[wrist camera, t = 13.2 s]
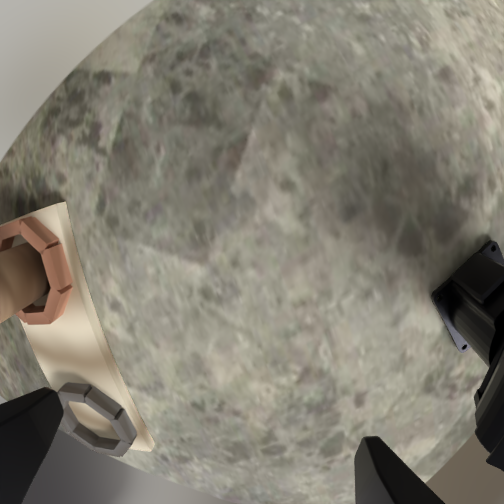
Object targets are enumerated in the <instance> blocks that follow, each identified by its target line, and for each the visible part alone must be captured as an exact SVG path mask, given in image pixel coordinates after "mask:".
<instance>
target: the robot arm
mask: <svg viewBox="0 0 504 504" xmlns="http://www.w3.org/2000/svg"><path fill="white" fill-rule="evenodd" d="M492 246H493V249H492V250H491V247H492ZM438 295H440V298H439V299H437V297H438ZM431 299H432V301H433V303H434V305H435V307H436V308H437V310H438V312H439V314H440V316H441V318H442V320H443V321H444V323H445V325H446V327H447V329H448V331H449V333H450V335H451V337H452V339H453V341H454V343H455V345H456V347H457V349H458V350H459V351H460V352H461V353H463V352H465V351H467V350H468V349H469V348H470V347H472V348H473V350H474V351H475V352H476V353H477V354H478V355H479V356H480V357H481V359H482V360H483V361H484V362H485V363H486V364H487V366H488V367H489V370H488V372H487V374H486V376H485V378H484V380H483V382H482V384H481V386H480V388H479V389H478V390H477V391H476V393H475V395H474V400H475V405H476V412H475V418H476V425H477V428H476V429H475V434H476V436H477V438H478V439H479V441H480V443H481V445H483V447H484V448H485V449H486V450H487V452H489V453H490V455H489V456H488V458H487V459H486V462H487V463H488V464H490V465H492V466H495V467H497V468H499V469H501V470H502V471H504V259H503V256H502V253H501V251H500V248H499V246H498V244H497V242H495V241H492V240H490V241H489V242H488V243H487V244H485V245H484V246H483V247H482V248H481V249H480V250H479V251H478V252H477V253H475V254H474V255H473V256H472V257H471V258H470V259H469V260H468V261H467V262H466V263H464V264H463V265H462V266H461V267H460V268H459V269H458V270H457V271H456V272H455V273H453V275H452V276H451V277H450V278H449V279H448V280H447V281H446V282H444V283H443V284H442V285H441V286H440V287H439V288H437V289H436V290H435V291H434V292H433V294H432V297H431ZM463 345H464V346H463ZM462 346H463V347H462ZM63 415H64V409H63V406H62V403H61V401H60V398H59V396H58V393H57V392H56V391H55V390H53V389H51V388H48V387H44V388H41V389H38V390H36V391H33V392H31V393H28V394H26V395H23V396H21V397H18V398H16V399H13V400H10V401H8V402H5V403H3V404H0V504H22V502H23V500H24V498H25V496H26V494H27V492H28V490H29V488H30V486H31V484H32V482H33V480H34V478H35V476H36V474H37V472H38V470H39V468H40V466H41V464H42V463H43V461H44V459H45V457H46V455H47V453H48V451H49V449H50V446H51V444H52V441H53V439H54V437H55V434H56V432H57V429H58V427H59V425H60V422H61V420H62V418H63ZM354 464H355V500H356V504H445V503H444V502H443V501H442V500H441V499H440V498H439V497H438V496H437V495H436V494H435V493H434V492H433V491H432V490H431V489H430V488H429V487H428V486H427V485H426V484H425V483H424V482H423V481H422V480H421V479H420V478H419V477H418V476H417V475H416V474H415V473H414V472H413V471H412V470H411V469H410V468H409V467H408V466H407V465H406V464H405V463H404V462H403V461H402V460H401V459H400V458H399V457H398V456H397V455H396V454H395V453H394V452H393V451H392V450H391V449H390V448H389V447H388V446H387V445H386V444H385V443H384V442H383V440H382V439H381V438H380V437H378V436H366V437H363V438H362V440H361V443H360V445H359V447H358V450H357V452H356V454H355V460H354Z"/></svg>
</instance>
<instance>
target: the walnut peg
mask: <svg viewBox="0 0 504 504" xmlns="http://www.w3.org/2000/svg"><path fill="white" fill-rule="evenodd" d="M50 289H51V287H50V284H49V280H48V277H47V274H46V271H45V267H44V264H43V260H42V257H41V254H40V253H39V252H38V251H37V250H36V249H35V248H34V247H33V246H32V245H31V244H30V243H29V242H26V243H23V244H20V245H18V246H15V247H12V248H10V249H7V250H4V251H2V252H0V323H1V322H3V321H5V320H6V319H8V318H9V317H11V316H12V315H14V314H16V313H17V312H19V311H20V310H22V309H23V308H25V307H27V306H28V305H30V304H32V303H33V302H35V301H36V300H38V299H40V298H41V297H43V296H45V295H46V294H48V292H49V291H50Z"/></svg>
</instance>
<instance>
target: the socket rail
mask: <svg viewBox="0 0 504 504" xmlns="http://www.w3.org/2000/svg"><path fill="white" fill-rule="evenodd" d="M26 242H29V243H30V244H31V245H32V246H33V247H34V248H35V249H36V250H37V251H38V252H39V253H40V254H41V257H42V260H43V264H44V267H45V271H46V274H47V277H48V280H49V284H50V287H51V289H50V291H49V292H48V294H46V295H45V296H43V297H41V298H40V299H38V300H36V301H35V302H33V303H32V304H30V305H28V306H27V307H25V308H23V309H22V310H20V311H19V312H17V313H16V315H17V316H18V317H19V318H20V320H21V323H22V325H23V328H24V330H25V333H26V335H27V337H28V340H29V342H30V344H31V347H32V349H33V351H34V353H35V356H36V358H37V360H38V362H39V364H40V366H41V368H42V370H43V372H44V374H45V376H46V378H47V380H48V382H49V384H50V386H51V388H52V389H53V390H55V391H56V392H57V393H58V396H59V398H60V401H61V403H62V406H63V409H64V415H63V418H62V420H61V423H62V425H63V427H64V428H65V430H66V431H67V432H70V435H71V436H72V437H74V438H75V439H77V440H78V441H80V442H81V443H82V444H84V445H85V446H86V447H88V448H90V449H91V450H92V451H94V450H95V451H96V452H97V453H101V454H106V455H111V456H116V457H120V456H123V455H124V454H125V453H126V452H127V450H128V449H134V450H142V451H150V452H151V451H152V449H153V447H154V444H155V442H154V440H153V439H152V437H151V435H150V433H149V431H148V429H147V428H146V426H145V424H144V422H143V420H142V418H141V416H140V414H139V412H138V410H137V408H136V406H135V404H134V402H133V400H132V398H131V396H130V394H129V392H128V389H127V387H126V385H125V383H124V381H123V378H122V376H121V374H120V372H119V369H118V367H117V365H116V362H115V360H114V358H113V355H112V353H111V350H110V348H109V345H108V343H107V340H106V338H105V335H104V332H103V330H102V327H101V324H100V322H99V319H98V316H97V313H96V310H95V307H94V304H93V301H92V298H91V295H90V292H89V289H88V286H87V283H86V279H85V276H84V273H83V269H82V266H81V262H80V259H79V255H78V251H77V248H76V244H75V240H74V236H73V232H72V227H71V223H70V219H69V214H68V209H67V205H66V202H62V203H57V204H54V205H51V206H48V207H45V208H43V209H40V210H37V211H34V212H32V213H29V214H26V215H24V216H21V217H19V218H16V219H14V220H11V221H9V222H6V223H4V224H1V225H0V252H2V251H4V250H7V249H10V248H12V247H15V246H18V245H20V244H23V243H26Z"/></svg>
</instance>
